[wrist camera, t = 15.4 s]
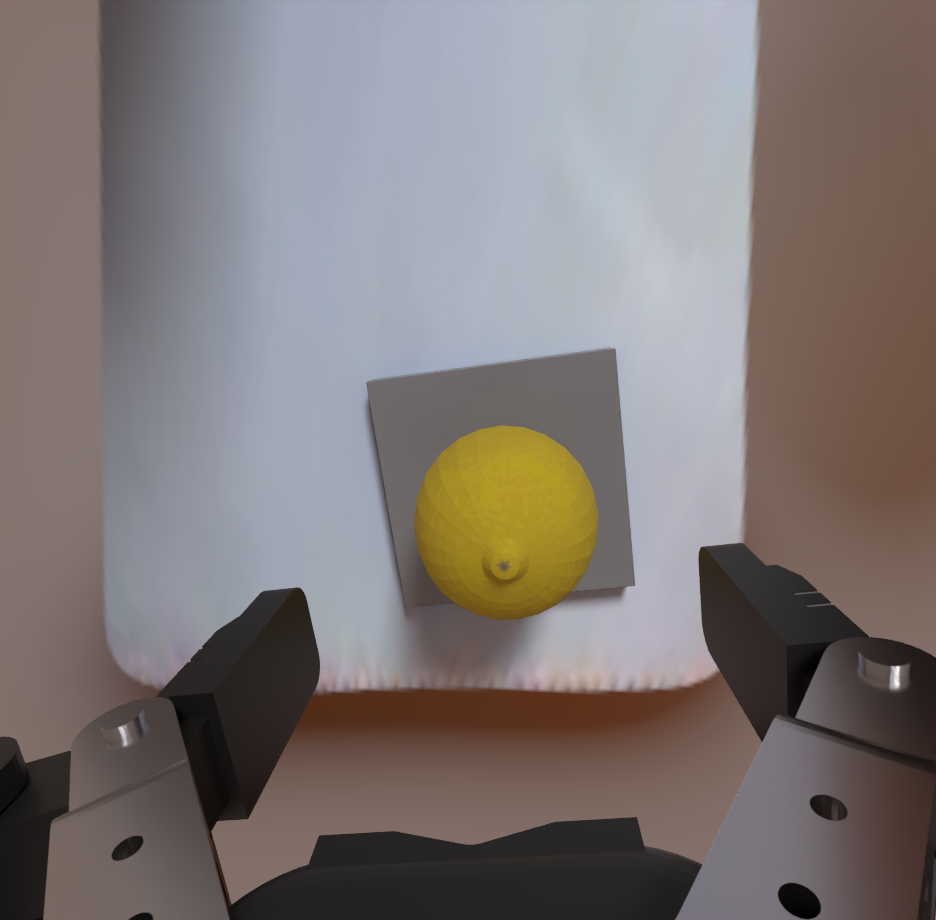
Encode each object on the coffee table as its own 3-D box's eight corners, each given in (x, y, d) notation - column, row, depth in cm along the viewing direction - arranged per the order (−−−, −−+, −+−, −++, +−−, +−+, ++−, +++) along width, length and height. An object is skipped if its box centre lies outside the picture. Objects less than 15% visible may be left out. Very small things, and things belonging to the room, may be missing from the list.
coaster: (372, 380, 22) (366, 382, 21) (610, 347, 22) (615, 348, 21) (409, 596, 24) (405, 607, 23) (629, 574, 23) (635, 585, 22)
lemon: (583, 411, 21) (628, 456, 13) (576, 556, 22) (614, 676, 14) (431, 409, 21) (387, 452, 14) (432, 552, 23) (393, 666, 15)
